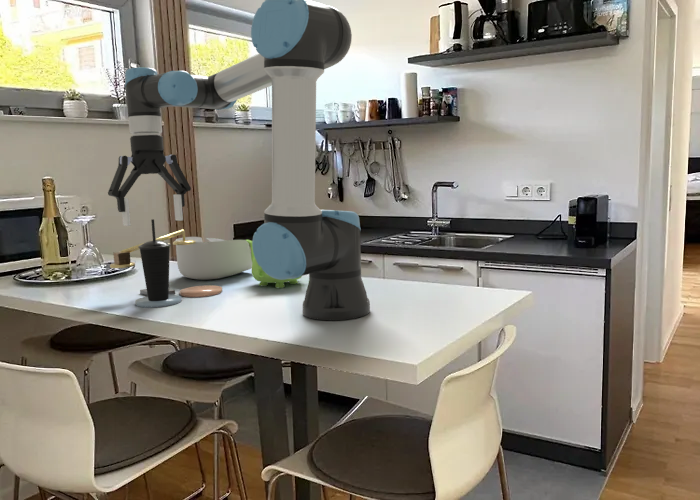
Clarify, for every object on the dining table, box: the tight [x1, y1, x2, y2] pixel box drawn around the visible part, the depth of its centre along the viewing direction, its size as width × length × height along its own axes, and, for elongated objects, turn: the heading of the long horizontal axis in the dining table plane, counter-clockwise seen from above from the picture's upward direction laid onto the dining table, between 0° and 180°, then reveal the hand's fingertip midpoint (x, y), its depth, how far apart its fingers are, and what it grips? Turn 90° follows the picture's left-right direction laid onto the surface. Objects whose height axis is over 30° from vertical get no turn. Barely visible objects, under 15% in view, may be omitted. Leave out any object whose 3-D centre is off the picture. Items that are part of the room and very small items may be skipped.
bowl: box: [174, 236, 252, 281], centre depth 189 cm, size 20×19×12 cm
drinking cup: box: [138, 218, 172, 301], centre depth 154 cm, size 8×8×20 cm
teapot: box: [245, 239, 303, 289], centre depth 174 cm, size 16×14×13 cm
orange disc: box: [179, 284, 223, 298], centre depth 166 cm, size 11×11×1 cm
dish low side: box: [135, 294, 183, 309], centre depth 156 cm, size 11×11×1 cm
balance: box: [109, 228, 196, 297], centre depth 165 cm, size 8×24×16 cm, turn 133°
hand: (153, 223), depth 153 cm, fingers open, 13 cm apart
